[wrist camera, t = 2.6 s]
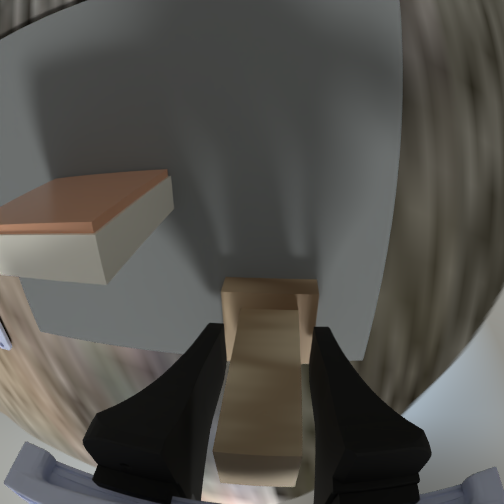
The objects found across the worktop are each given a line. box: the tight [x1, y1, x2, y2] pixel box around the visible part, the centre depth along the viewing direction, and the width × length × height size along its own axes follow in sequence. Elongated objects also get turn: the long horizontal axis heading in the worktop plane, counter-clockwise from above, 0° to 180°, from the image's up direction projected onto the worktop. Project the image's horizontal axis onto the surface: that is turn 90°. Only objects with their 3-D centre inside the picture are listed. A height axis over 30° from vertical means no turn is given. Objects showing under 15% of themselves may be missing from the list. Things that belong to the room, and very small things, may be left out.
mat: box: [0, 0, 403, 361], centre depth 13 cm, size 20×18×1 cm
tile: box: [0, 169, 174, 285], centre depth 10 cm, size 6×2×6 cm, turn 91°
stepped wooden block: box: [213, 277, 319, 487], centre depth 11 cm, size 4×4×8 cm
